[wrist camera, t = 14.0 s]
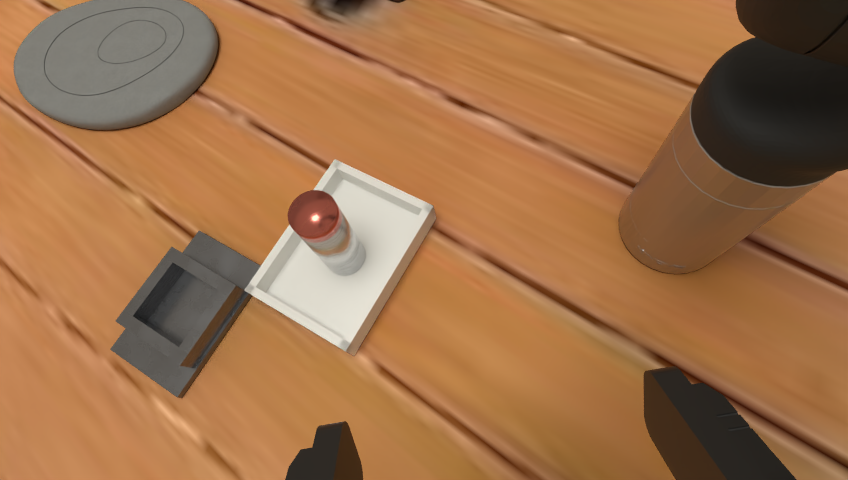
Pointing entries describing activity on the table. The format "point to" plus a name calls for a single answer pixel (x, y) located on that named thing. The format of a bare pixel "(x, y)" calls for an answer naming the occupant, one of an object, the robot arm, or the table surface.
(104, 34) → the frisbee
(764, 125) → the robot arm
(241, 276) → the hitch
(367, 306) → the tray
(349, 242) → the pin
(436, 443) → the table surface
